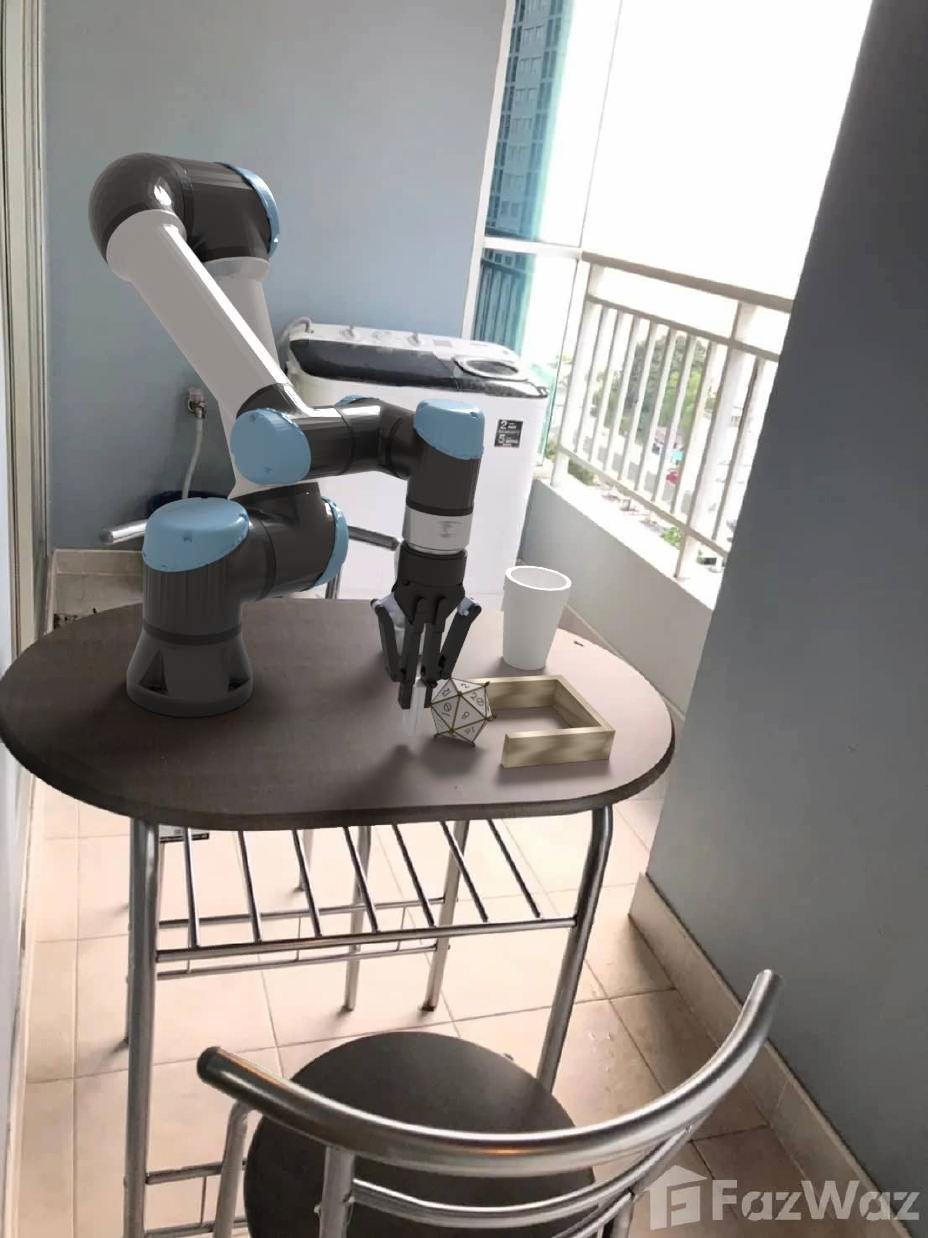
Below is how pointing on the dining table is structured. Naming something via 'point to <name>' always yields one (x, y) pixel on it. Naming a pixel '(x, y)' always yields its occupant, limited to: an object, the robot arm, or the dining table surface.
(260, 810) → the dining table surface
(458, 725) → the game die
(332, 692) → the dining table surface
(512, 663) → the foam cup
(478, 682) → the corral
